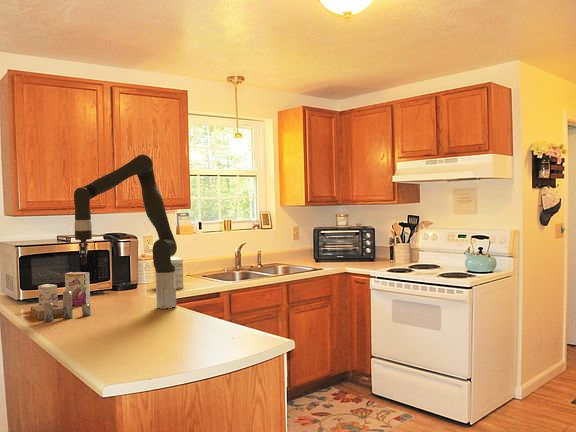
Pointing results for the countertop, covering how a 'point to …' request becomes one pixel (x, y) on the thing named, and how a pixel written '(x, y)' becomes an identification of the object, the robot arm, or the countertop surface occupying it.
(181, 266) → the supplement box
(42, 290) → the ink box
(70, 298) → the long pin
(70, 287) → the candy bar box
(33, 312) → the hole board
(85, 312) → the short pin
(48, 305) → the medium pin
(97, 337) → the countertop surface
